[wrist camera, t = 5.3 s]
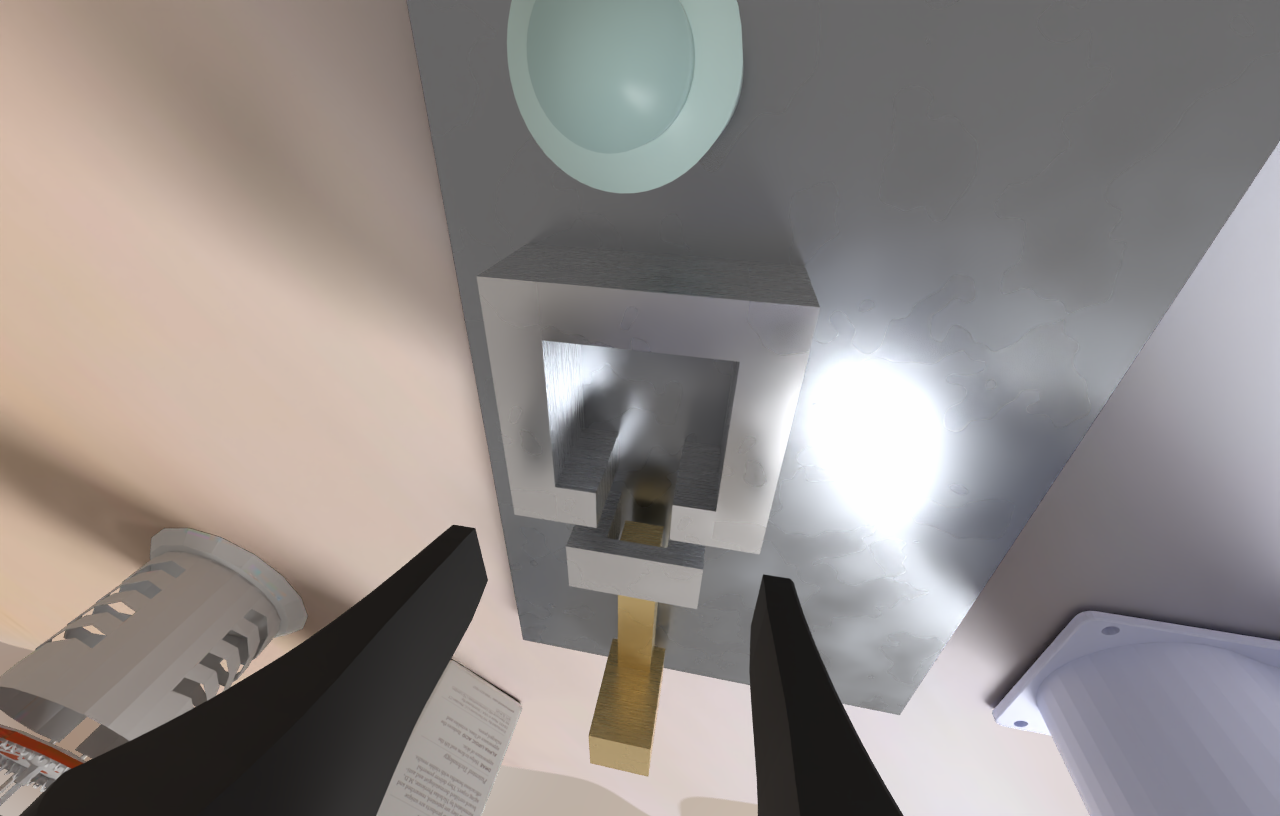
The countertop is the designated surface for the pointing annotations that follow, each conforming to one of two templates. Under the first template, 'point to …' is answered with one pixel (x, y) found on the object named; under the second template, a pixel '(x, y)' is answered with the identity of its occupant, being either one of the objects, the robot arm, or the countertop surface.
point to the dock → (834, 306)
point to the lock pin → (630, 678)
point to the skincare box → (453, 749)
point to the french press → (144, 653)
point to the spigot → (625, 84)
